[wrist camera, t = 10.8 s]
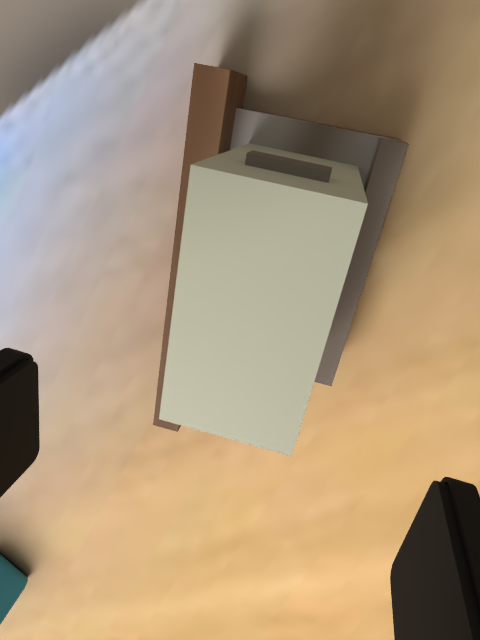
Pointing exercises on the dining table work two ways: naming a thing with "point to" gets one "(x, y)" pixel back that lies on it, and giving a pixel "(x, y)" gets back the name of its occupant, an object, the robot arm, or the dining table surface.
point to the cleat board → (298, 137)
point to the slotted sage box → (257, 290)
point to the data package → (9, 586)
